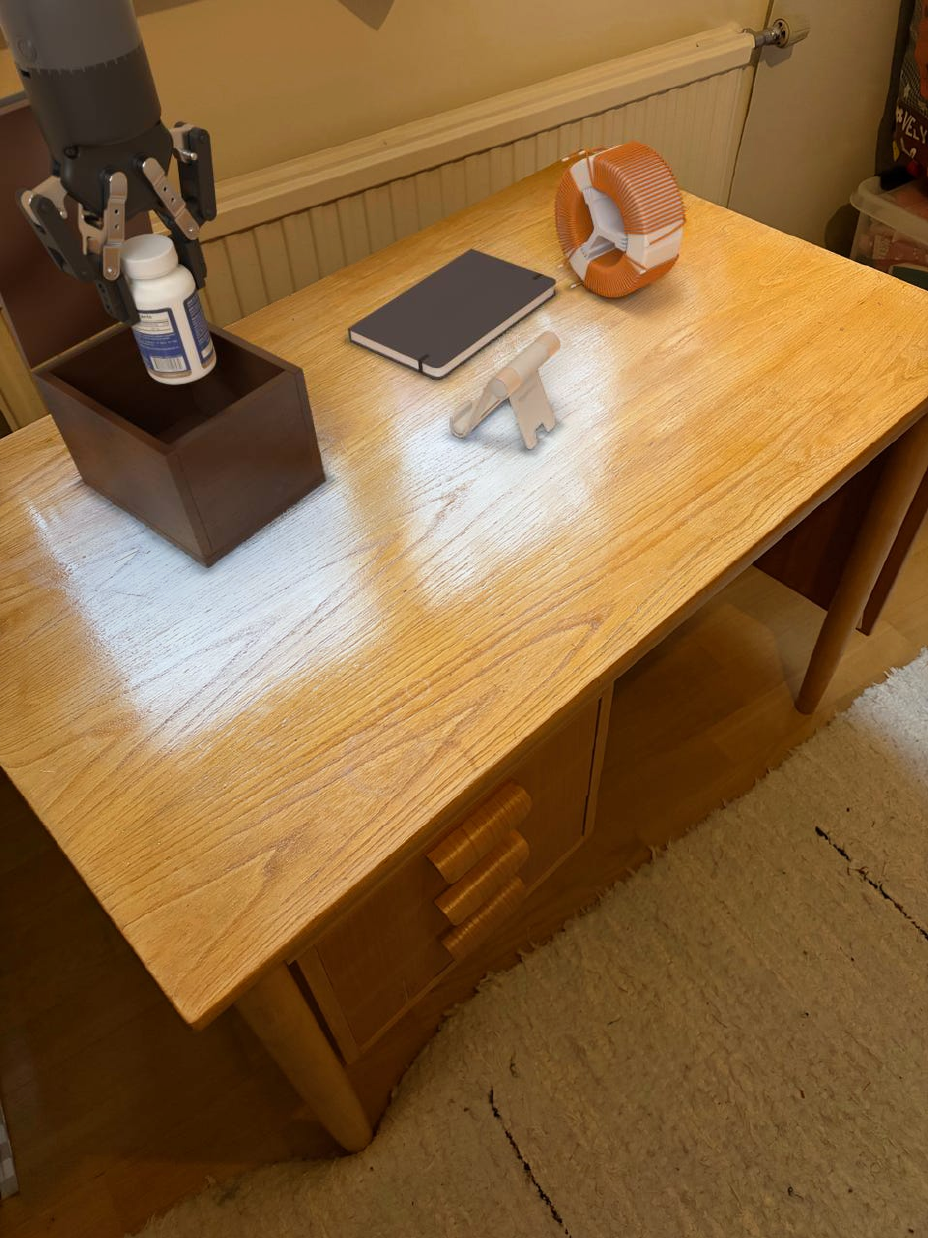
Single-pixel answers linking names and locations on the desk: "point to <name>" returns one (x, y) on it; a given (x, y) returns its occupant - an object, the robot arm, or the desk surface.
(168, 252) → the pill bottle
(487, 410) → the tablet stand
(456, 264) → the notebook
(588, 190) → the coil
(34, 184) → the lid
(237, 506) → the chest
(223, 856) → the desk surface
